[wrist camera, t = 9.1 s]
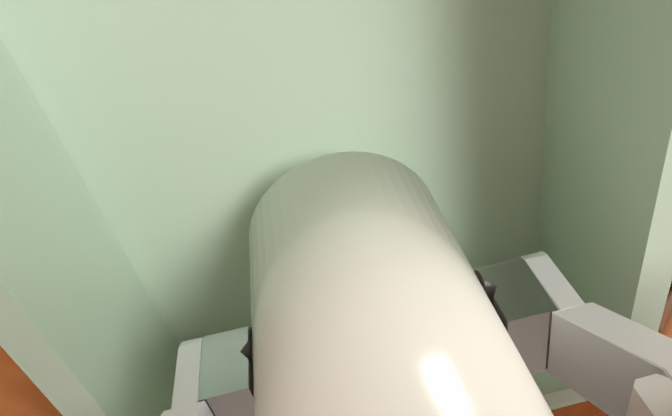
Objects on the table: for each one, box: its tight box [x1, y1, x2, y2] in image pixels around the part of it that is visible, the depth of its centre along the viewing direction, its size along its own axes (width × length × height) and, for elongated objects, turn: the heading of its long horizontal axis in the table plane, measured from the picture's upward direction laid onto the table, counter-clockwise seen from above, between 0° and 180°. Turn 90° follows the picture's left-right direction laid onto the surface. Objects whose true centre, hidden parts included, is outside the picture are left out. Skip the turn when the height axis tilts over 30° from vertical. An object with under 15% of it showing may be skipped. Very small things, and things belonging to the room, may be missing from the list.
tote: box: [0, 0, 672, 416], centre depth 11 cm, size 14×18×5 cm
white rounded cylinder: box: [249, 151, 554, 416], centre depth 11 cm, size 5×5×7 cm
